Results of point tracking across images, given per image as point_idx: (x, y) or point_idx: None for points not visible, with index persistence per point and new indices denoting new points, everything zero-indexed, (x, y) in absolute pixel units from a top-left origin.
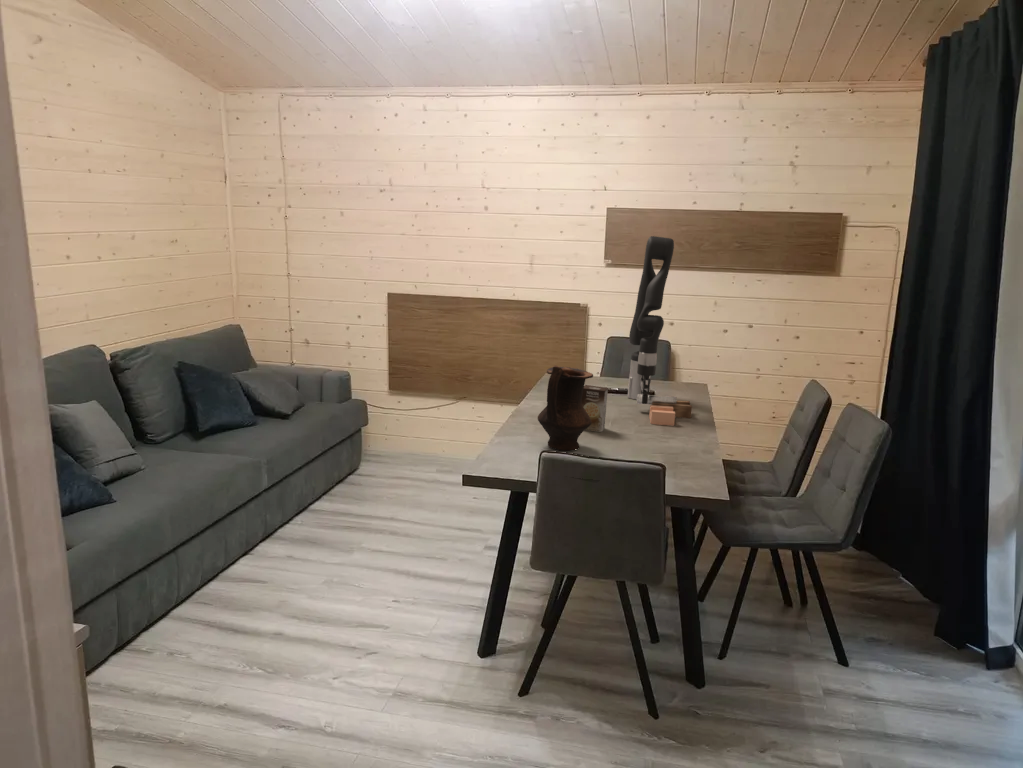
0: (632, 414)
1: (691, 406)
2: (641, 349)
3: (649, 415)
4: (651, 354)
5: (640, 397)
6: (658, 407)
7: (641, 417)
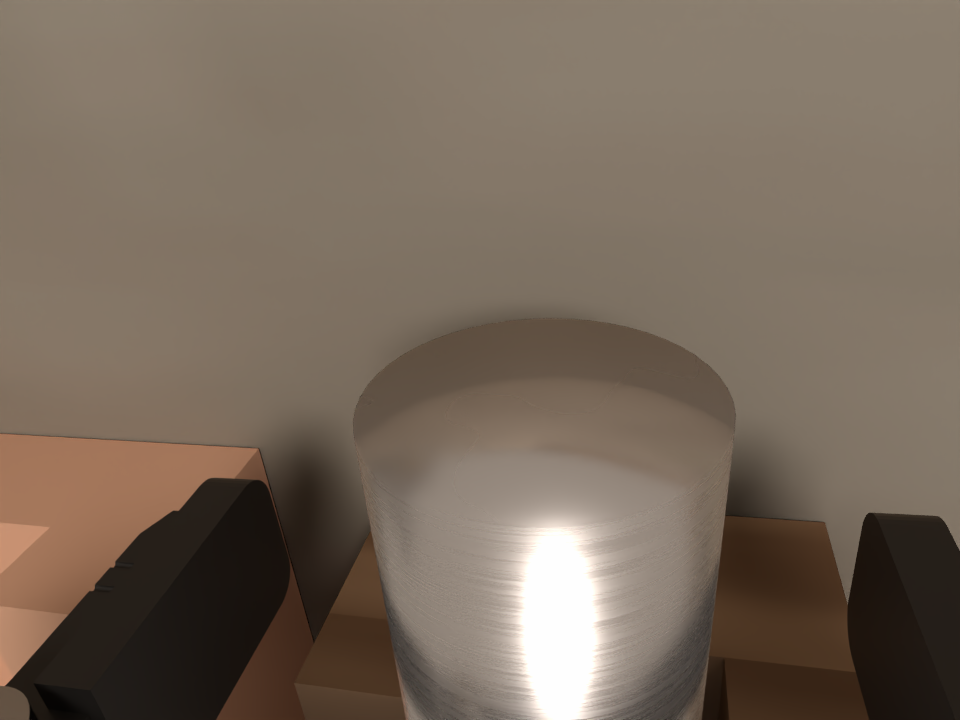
0: (276, 145)
1: None
2: None
3: (208, 467)
4: None
5: (376, 538)
6: None
7: (149, 319)
